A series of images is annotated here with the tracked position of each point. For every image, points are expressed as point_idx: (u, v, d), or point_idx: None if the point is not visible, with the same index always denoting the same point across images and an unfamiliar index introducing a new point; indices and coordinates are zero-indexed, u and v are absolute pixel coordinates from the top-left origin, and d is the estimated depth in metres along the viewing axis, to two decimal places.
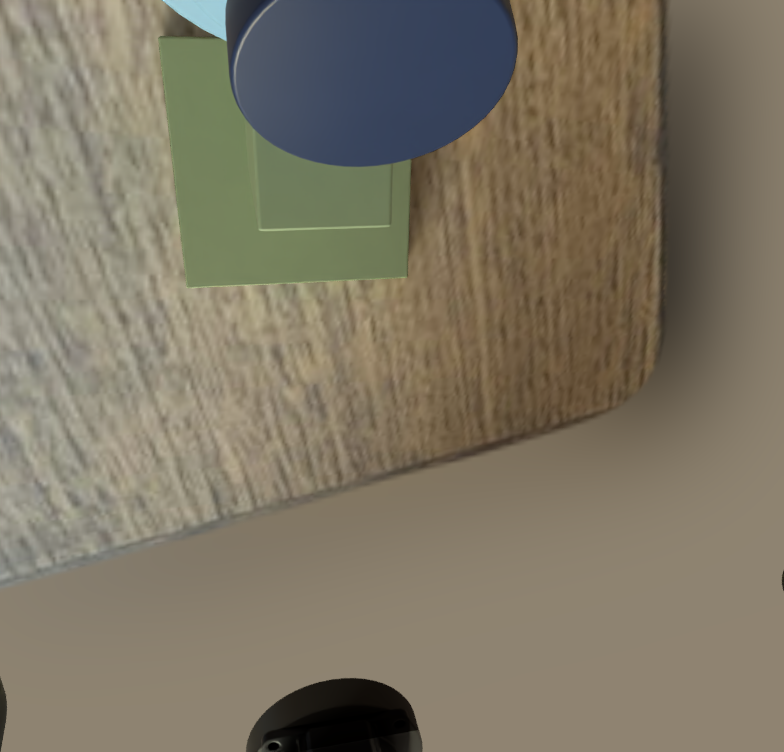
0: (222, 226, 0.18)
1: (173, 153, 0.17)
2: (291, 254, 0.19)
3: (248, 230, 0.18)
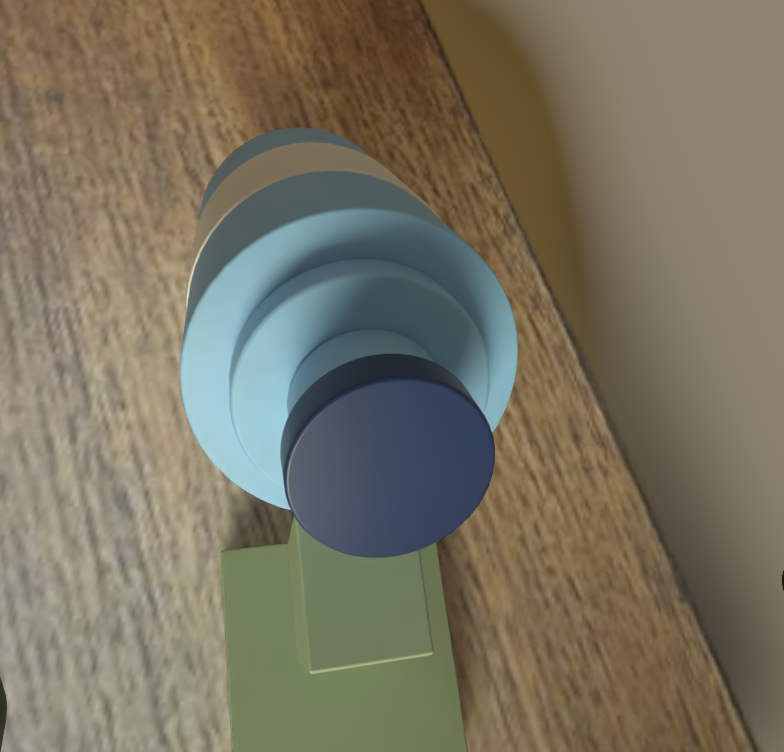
0: (272, 719, 0.18)
1: (228, 650, 0.18)
2: (343, 742, 0.18)
3: (298, 720, 0.18)
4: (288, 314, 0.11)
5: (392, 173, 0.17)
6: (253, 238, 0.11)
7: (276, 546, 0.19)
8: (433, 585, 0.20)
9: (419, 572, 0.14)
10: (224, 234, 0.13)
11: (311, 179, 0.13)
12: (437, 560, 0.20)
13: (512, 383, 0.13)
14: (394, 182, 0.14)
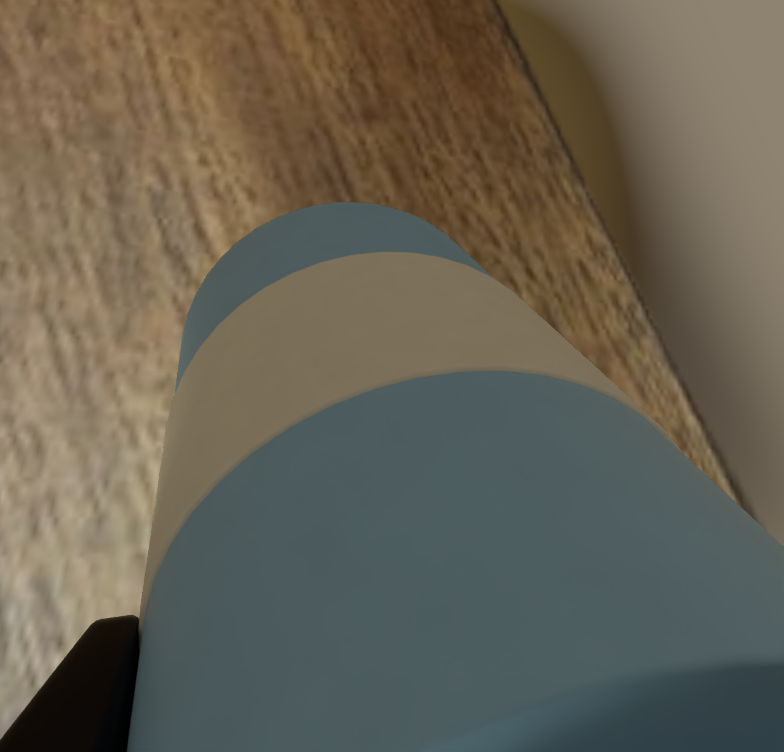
0: None
1: None
2: None
3: None
4: None
5: (533, 310, 0.09)
6: None
7: None
8: None
9: None
10: (220, 581, 0.05)
11: (432, 418, 0.05)
12: None
13: None
14: (594, 384, 0.06)
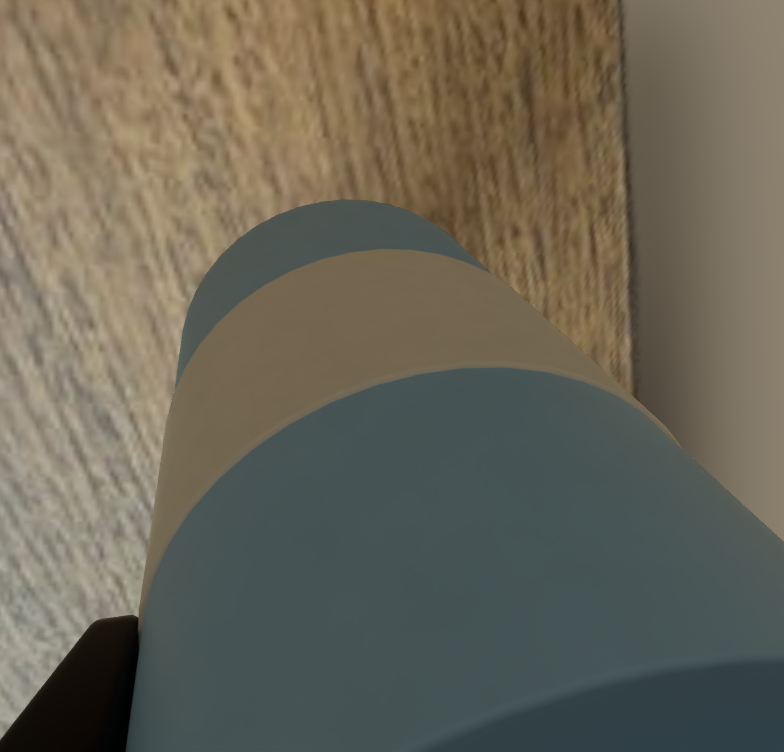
0: None
1: None
2: None
3: None
4: None
5: (534, 308, 0.09)
6: None
7: None
8: None
9: None
10: (219, 578, 0.05)
11: (433, 414, 0.05)
12: None
13: None
14: (595, 381, 0.06)
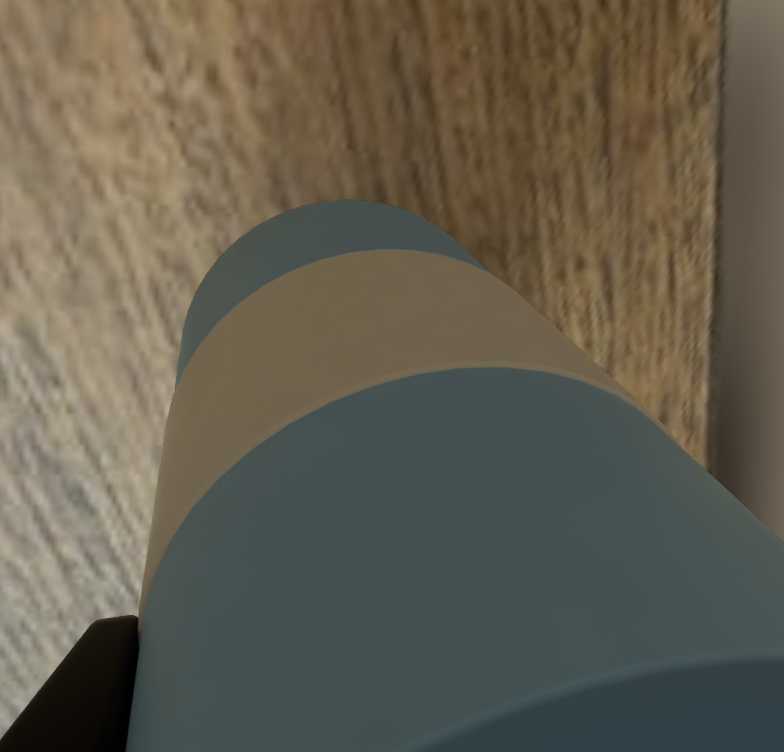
0: None
1: None
2: None
3: None
4: None
5: (534, 308, 0.09)
6: None
7: None
8: None
9: None
10: (219, 577, 0.05)
11: (433, 413, 0.05)
12: None
13: None
14: (595, 380, 0.06)
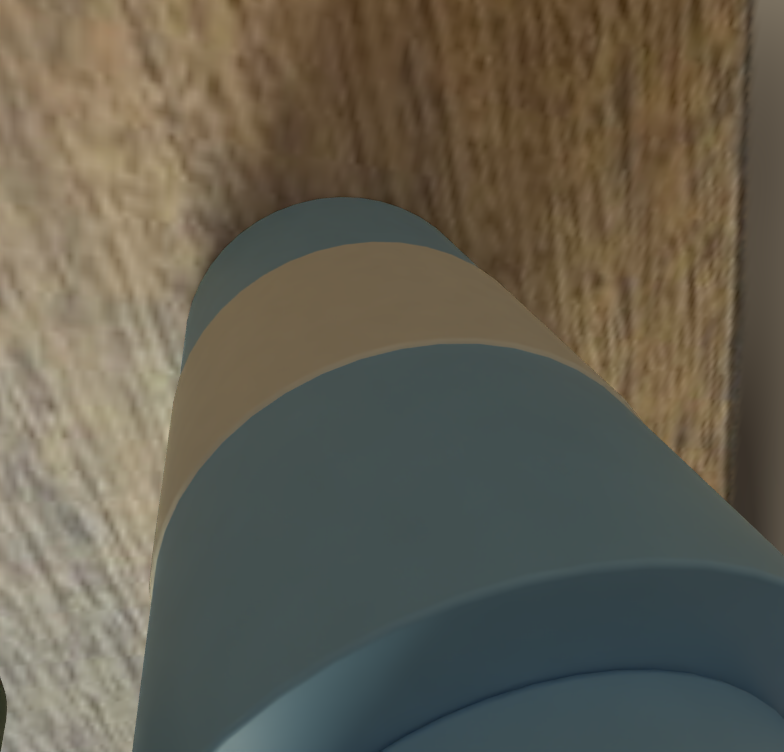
0: None
1: None
2: None
3: None
4: None
5: (512, 296, 0.10)
6: (304, 646, 0.04)
7: None
8: None
9: None
10: (224, 520, 0.06)
11: (411, 381, 0.06)
12: None
13: None
14: (560, 357, 0.07)
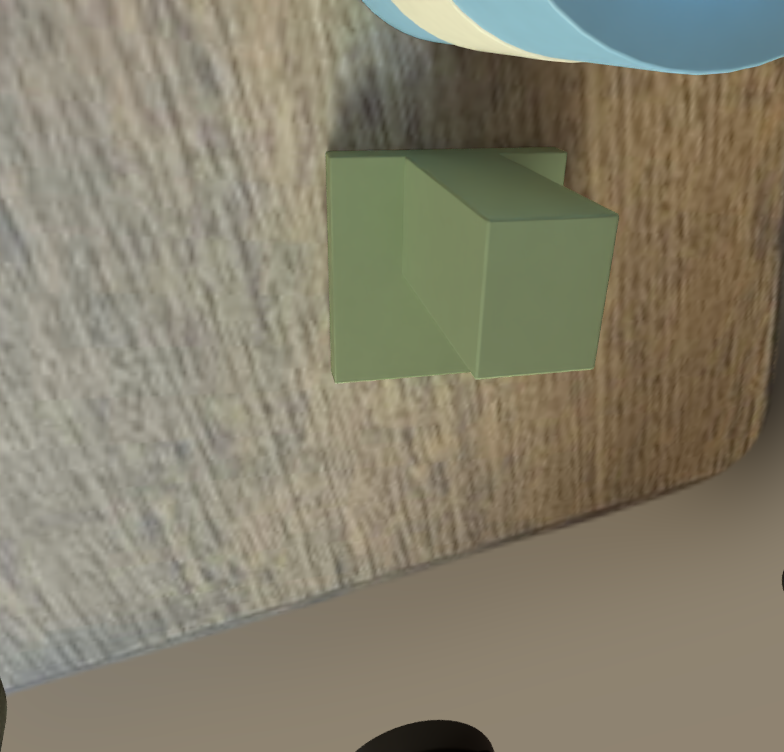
0: (373, 326, 0.19)
1: (334, 262, 0.18)
2: (435, 349, 0.19)
3: (397, 329, 0.19)
4: None
5: None
6: None
7: (392, 158, 0.17)
8: None
9: (603, 294, 0.13)
10: None
11: None
12: None
13: None
14: None
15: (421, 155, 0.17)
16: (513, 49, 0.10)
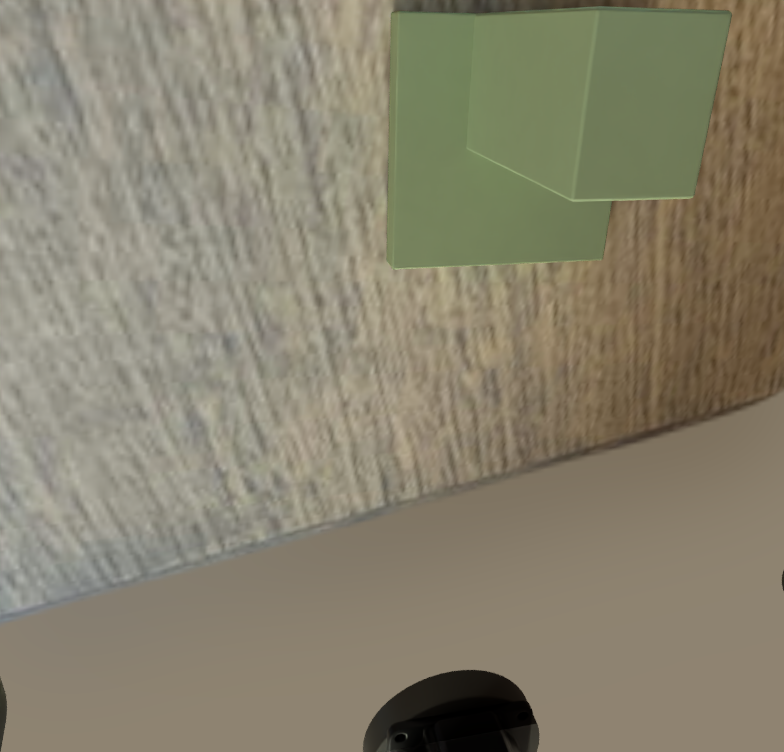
0: (434, 206, 0.18)
1: (397, 131, 0.17)
2: (496, 235, 0.18)
3: (458, 210, 0.18)
4: None
5: None
6: None
7: (461, 16, 0.16)
8: None
9: (709, 108, 0.12)
10: None
11: None
12: None
13: None
14: None
15: None
16: None
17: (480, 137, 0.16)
